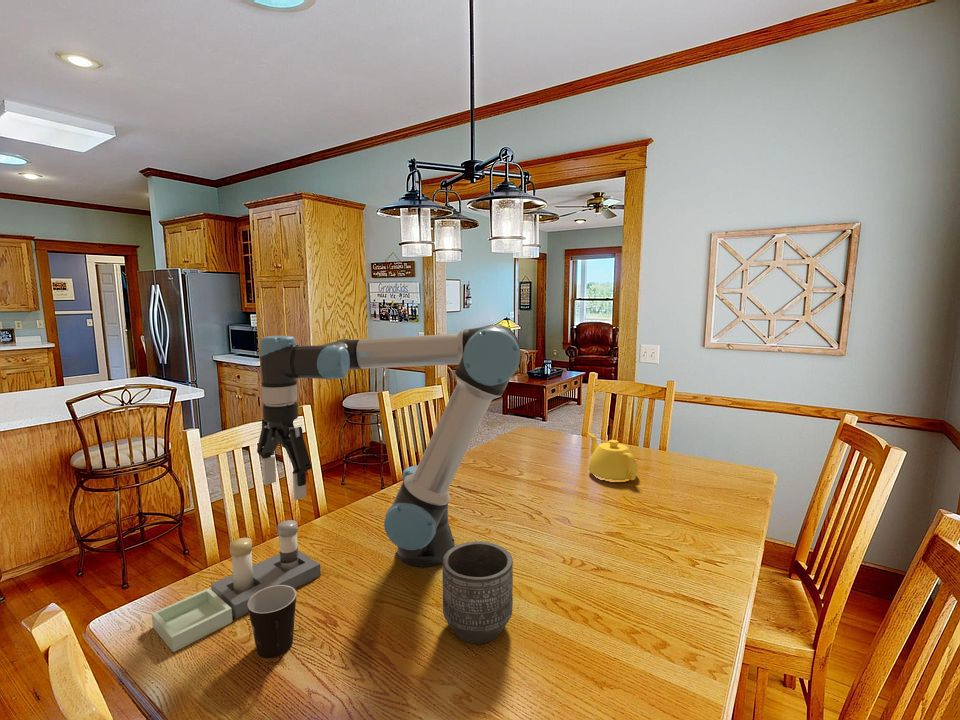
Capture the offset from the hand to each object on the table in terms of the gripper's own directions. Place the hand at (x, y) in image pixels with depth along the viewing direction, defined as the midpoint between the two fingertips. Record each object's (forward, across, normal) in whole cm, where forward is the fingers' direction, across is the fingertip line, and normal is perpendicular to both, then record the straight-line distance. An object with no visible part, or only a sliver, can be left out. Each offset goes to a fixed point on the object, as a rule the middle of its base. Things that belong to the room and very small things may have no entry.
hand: (284, 490), depth 113 cm
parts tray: (+22, -1, +22) cm, 31 cm away
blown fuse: (+22, 0, 0) cm, 22 cm away
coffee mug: (+22, -21, +15) cm, 34 cm away
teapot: (+21, -33, -112) cm, 118 cm away
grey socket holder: (+22, 0, +5) cm, 22 cm away
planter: (+21, -47, -15) cm, 54 cm away
